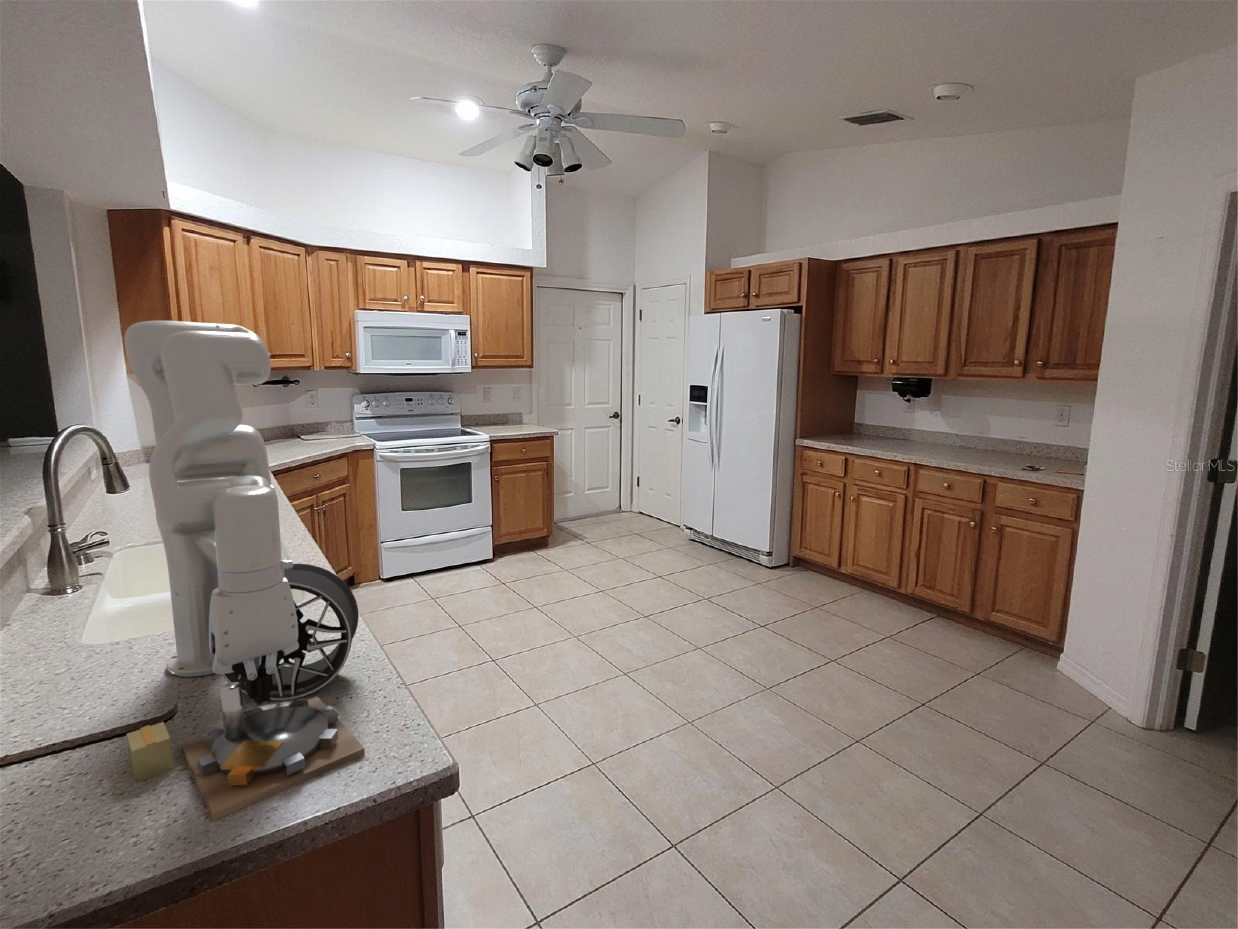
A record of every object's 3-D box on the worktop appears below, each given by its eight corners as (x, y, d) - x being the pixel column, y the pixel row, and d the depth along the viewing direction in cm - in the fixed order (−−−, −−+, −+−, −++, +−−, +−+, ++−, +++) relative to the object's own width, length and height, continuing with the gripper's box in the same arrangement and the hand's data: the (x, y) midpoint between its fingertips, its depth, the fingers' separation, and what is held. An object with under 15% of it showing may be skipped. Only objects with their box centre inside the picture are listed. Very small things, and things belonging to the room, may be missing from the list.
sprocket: (167, 785, 75) (160, 723, 74) (244, 708, 92) (239, 656, 91) (307, 784, 76) (303, 723, 75) (357, 708, 93) (355, 657, 91)
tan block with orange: (130, 764, 81) (126, 732, 81) (166, 751, 84) (163, 720, 83) (135, 782, 78) (131, 749, 77) (173, 768, 81) (170, 736, 80)
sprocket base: (181, 750, 84) (180, 742, 84) (317, 702, 97) (317, 694, 97) (213, 821, 72) (212, 811, 72) (364, 754, 84) (364, 746, 84)
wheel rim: (216, 707, 95) (205, 586, 91) (235, 678, 103) (226, 566, 100) (353, 692, 100) (348, 577, 97) (361, 666, 109) (356, 559, 105)
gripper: (297, 557, 90) (304, 671, 94) (178, 583, 79) (190, 710, 82) (319, 570, 86) (325, 689, 89) (195, 599, 74) (207, 733, 78)
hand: (260, 699), depth 86 cm, fingers closed
